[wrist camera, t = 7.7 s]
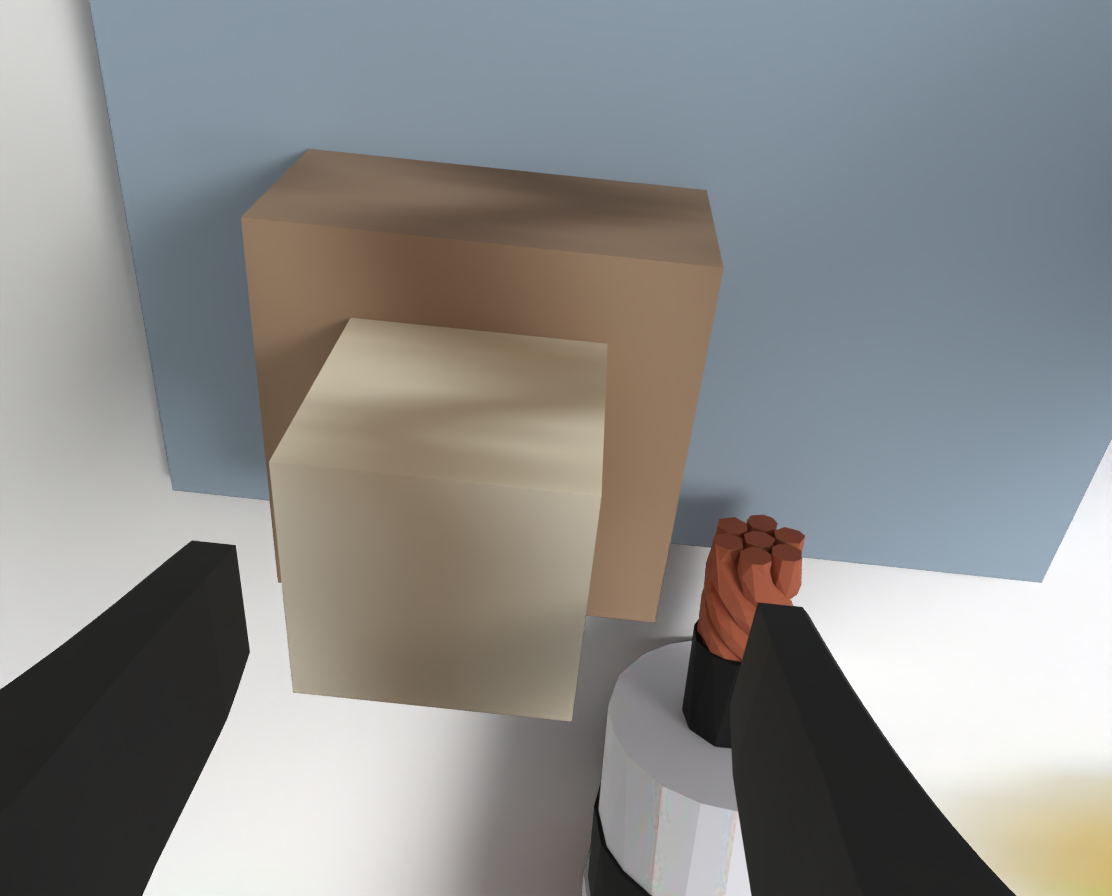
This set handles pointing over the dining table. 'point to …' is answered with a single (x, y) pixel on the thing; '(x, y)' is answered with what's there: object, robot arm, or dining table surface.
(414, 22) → the mat
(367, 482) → the maple cube
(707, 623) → the cable
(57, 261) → the dining table surface
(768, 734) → the robot arm
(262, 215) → the walnut base
